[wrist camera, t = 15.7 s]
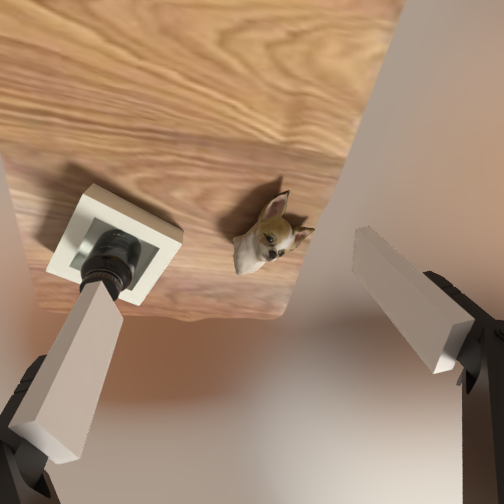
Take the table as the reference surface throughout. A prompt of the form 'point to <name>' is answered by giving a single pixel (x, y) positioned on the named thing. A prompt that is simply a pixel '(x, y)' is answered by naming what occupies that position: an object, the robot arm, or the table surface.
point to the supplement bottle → (112, 261)
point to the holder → (124, 218)
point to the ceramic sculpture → (267, 237)
